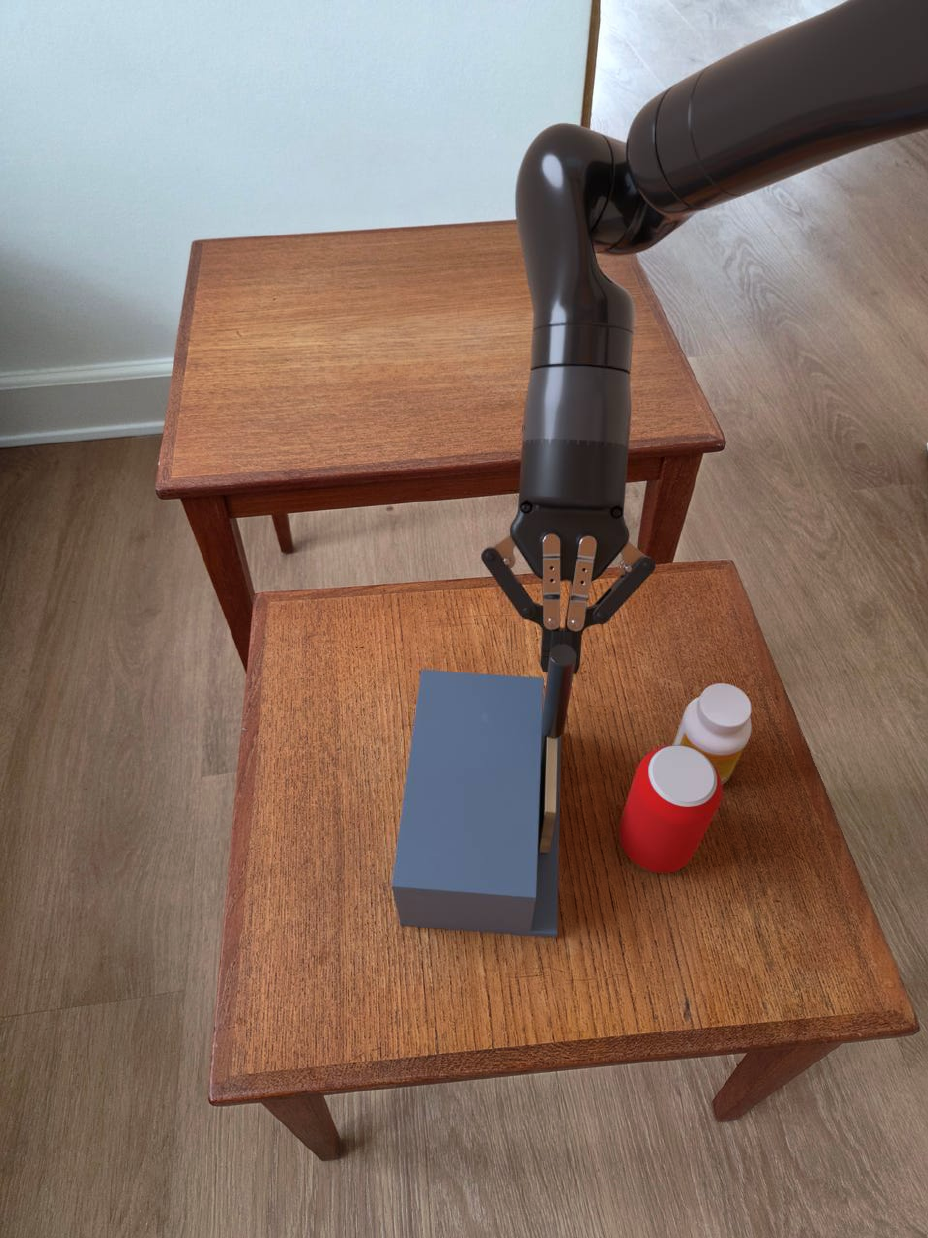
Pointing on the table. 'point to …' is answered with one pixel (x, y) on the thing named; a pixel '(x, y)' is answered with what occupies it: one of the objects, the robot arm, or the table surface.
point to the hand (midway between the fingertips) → (559, 678)
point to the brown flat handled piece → (554, 733)
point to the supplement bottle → (717, 726)
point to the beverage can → (669, 808)
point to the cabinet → (477, 809)
